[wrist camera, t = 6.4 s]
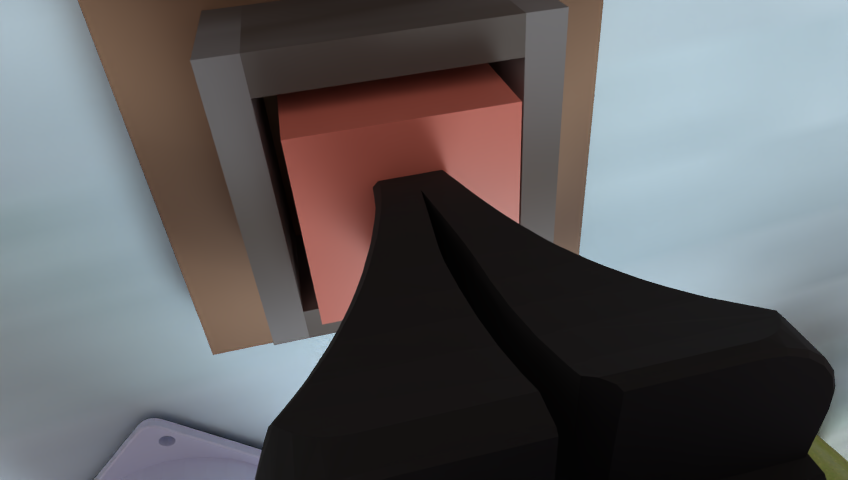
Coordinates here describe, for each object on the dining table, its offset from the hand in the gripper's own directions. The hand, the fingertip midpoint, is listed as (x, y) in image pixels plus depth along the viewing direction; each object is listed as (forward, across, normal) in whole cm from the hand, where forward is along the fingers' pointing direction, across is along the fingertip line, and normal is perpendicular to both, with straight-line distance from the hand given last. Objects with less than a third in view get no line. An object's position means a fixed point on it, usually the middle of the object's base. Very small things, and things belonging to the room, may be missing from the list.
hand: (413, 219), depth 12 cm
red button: (+3, 0, 0) cm, 3 cm away
